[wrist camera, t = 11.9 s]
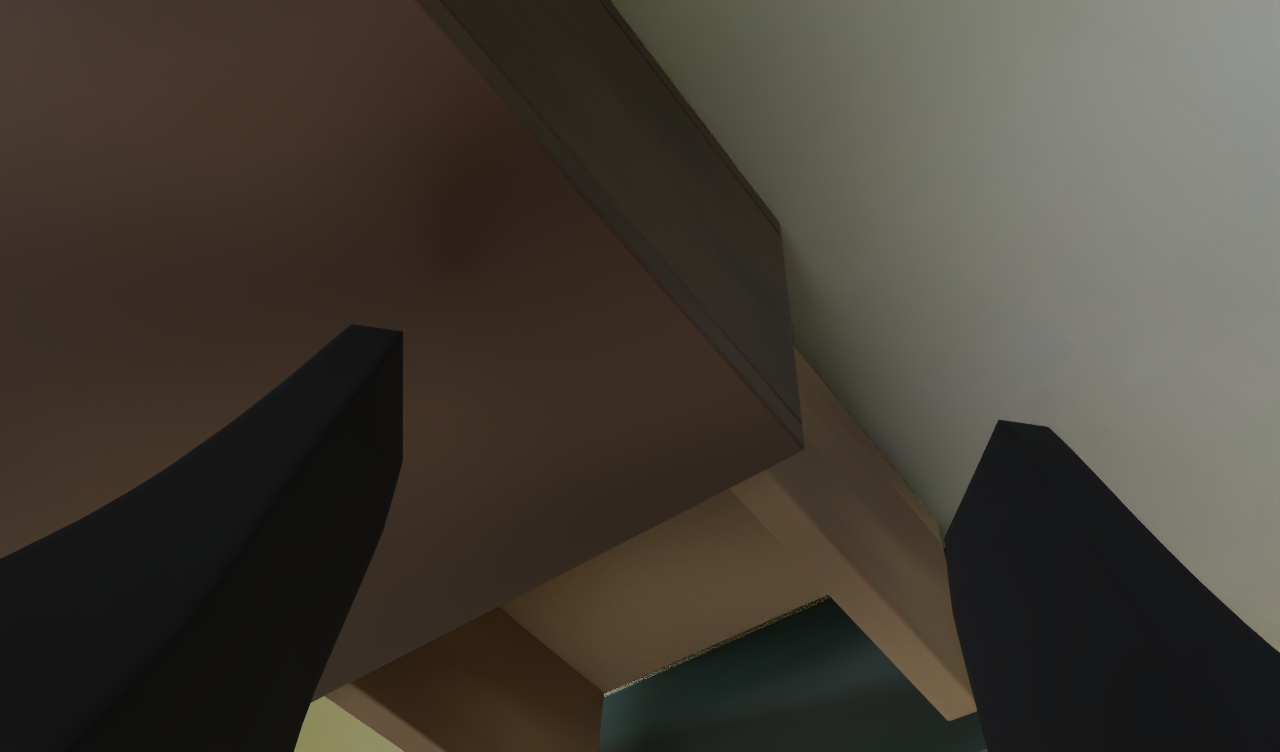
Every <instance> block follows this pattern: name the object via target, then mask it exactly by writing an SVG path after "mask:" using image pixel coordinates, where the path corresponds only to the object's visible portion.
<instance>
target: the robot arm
mask: <svg viewBox="0 0 1280 752" xmlns="http://www.w3.org/2000/svg"><path fill="white" fill-rule="evenodd" d="M402 463H403V331H396V330H390V329H383V328H376V327H369V326H363V325H356V324H351V325H350V326H348V327H347V328H345V329H344V330H343V331H341V332H340V333H339V334H338V335H337V336H335V337H334V338H333V339H332V340H331V341H329V342H328V343H327V344H326V345H325V346H324V347H322V348H321V349H320V350H319V351H318V352H317V353H315V354H314V355H313V356H312V357H311V358H309V359H308V360H307V361H306V362H305V363H304V364H302V365H301V366H300V367H299V368H298V369H296V370H295V371H294V372H293V373H292V374H290V375H289V376H288V377H287V378H286V379H284V380H283V381H282V382H281V383H280V384H278V385H277V386H276V387H275V388H273V389H272V390H271V391H270V392H268V393H267V394H266V395H265V396H263V397H262V398H261V399H260V400H258V401H257V402H256V403H254V404H253V405H252V406H251V407H249V408H248V409H247V410H246V411H244V412H243V413H242V414H240V415H239V416H238V417H237V418H235V419H234V420H233V421H231V422H230V423H229V424H227V425H226V426H225V427H223V428H222V429H221V430H219V431H218V432H216V433H215V434H214V435H212V436H211V437H209V438H208V439H207V440H205V441H204V442H202V443H201V444H199V445H198V446H197V447H195V448H194V449H192V450H191V451H190V452H188V453H187V454H185V455H184V456H182V457H181V458H180V459H178V460H177V461H175V462H174V463H173V464H171V465H170V466H168V467H167V468H165V469H164V470H162V471H160V472H159V473H157V474H156V475H154V476H153V477H151V478H150V479H148V480H146V481H145V482H143V483H142V484H140V485H139V486H137V487H135V488H134V489H132V490H130V491H129V492H127V493H125V494H123V495H122V496H120V497H118V498H117V499H115V500H113V501H111V502H110V503H108V504H106V505H104V506H103V507H101V508H99V509H98V510H96V511H94V512H92V513H90V514H89V515H87V516H85V517H83V518H81V519H79V520H78V521H76V522H74V523H72V524H70V525H68V526H65V527H63V528H61V529H59V530H57V531H55V532H53V533H51V534H49V535H47V536H45V537H43V538H41V539H39V540H37V541H35V542H33V543H31V544H29V545H27V546H25V547H23V548H21V549H19V550H17V551H15V552H13V553H11V554H9V555H7V556H5V557H3V558H1V559H0V752H294V749H295V746H296V743H297V740H298V737H299V733H300V730H301V727H302V724H303V721H304V719H305V716H306V713H307V711H308V708H309V706H310V703H311V700H312V698H313V695H314V692H315V690H316V687H317V685H318V683H319V680H320V678H321V676H322V673H323V671H324V669H325V667H326V664H327V662H328V660H329V657H330V655H331V653H332V650H333V648H334V646H335V643H336V641H337V639H338V636H339V634H340V632H341V629H342V627H343V625H344V622H345V620H346V618H347V616H348V613H349V611H350V609H351V606H352V604H353V602H354V599H355V597H356V595H357V592H358V590H359V588H360V585H361V583H362V581H363V578H364V576H365V574H366V571H367V569H368V567H369V564H370V562H371V559H372V557H373V555H374V552H375V550H376V548H377V545H378V543H379V540H380V538H381V536H382V533H383V530H384V526H385V523H386V520H387V516H388V513H389V509H390V506H391V503H392V499H393V496H394V492H395V488H396V485H397V481H398V477H399V474H400V470H401V467H402ZM945 549H946V560H947V571H948V581H949V589H950V597H951V605H952V613H953V617H954V621H955V626H956V630H957V634H958V638H959V642H960V646H961V650H962V654H963V658H964V662H965V666H966V670H967V674H968V678H969V682H970V685H971V689H972V693H973V697H974V701H975V705H976V708H977V712H978V716H979V720H980V724H981V728H982V731H983V735H984V739H985V743H986V747H987V751H988V752H1280V653H1279V652H1278V651H1277V650H1276V649H1274V648H1273V647H1272V646H1271V645H1270V644H1268V643H1267V642H1266V641H1265V640H1264V639H1263V638H1262V637H1260V636H1259V635H1258V634H1257V633H1256V632H1255V631H1253V630H1252V629H1251V628H1250V627H1249V626H1248V625H1247V624H1245V623H1244V622H1243V621H1242V620H1241V619H1240V618H1239V617H1238V616H1237V615H1236V614H1235V613H1234V612H1232V611H1231V610H1230V609H1229V608H1228V607H1227V606H1226V605H1225V604H1224V603H1223V602H1222V601H1221V600H1220V599H1218V598H1217V597H1216V596H1215V595H1214V594H1213V593H1212V592H1211V591H1210V590H1209V589H1208V588H1207V587H1206V586H1204V585H1203V584H1202V583H1201V582H1200V581H1199V580H1198V579H1197V578H1196V577H1195V576H1194V575H1193V574H1192V573H1191V572H1190V571H1189V570H1188V569H1187V568H1186V567H1185V566H1184V565H1183V564H1182V563H1181V562H1180V561H1179V560H1178V559H1177V558H1176V557H1175V556H1174V555H1173V554H1172V553H1171V552H1170V551H1169V550H1168V549H1167V548H1166V547H1165V546H1164V545H1163V544H1162V543H1161V542H1160V541H1159V540H1158V539H1157V538H1156V537H1155V536H1154V535H1153V534H1152V533H1151V532H1150V531H1149V530H1148V529H1147V528H1146V527H1145V526H1144V525H1143V524H1142V523H1141V522H1140V521H1139V520H1138V519H1137V518H1136V516H1135V515H1134V514H1133V513H1132V512H1131V511H1130V510H1129V509H1128V508H1127V507H1126V506H1125V505H1124V504H1123V503H1122V502H1121V501H1120V500H1119V499H1118V498H1117V497H1116V495H1115V494H1114V493H1113V492H1112V491H1111V490H1110V489H1109V488H1108V487H1107V486H1106V485H1105V484H1104V483H1103V482H1102V481H1101V480H1100V479H1099V478H1098V476H1097V475H1096V474H1095V473H1094V472H1093V471H1092V470H1091V469H1090V468H1089V467H1088V466H1087V465H1086V464H1085V463H1084V462H1083V461H1082V460H1081V459H1080V458H1079V457H1078V456H1077V454H1076V453H1075V452H1074V451H1073V450H1072V449H1071V448H1070V447H1069V446H1068V445H1067V444H1066V443H1065V442H1064V441H1063V440H1062V439H1061V438H1060V437H1058V436H1057V435H1056V434H1055V433H1054V432H1053V431H1052V430H1051V429H1050V428H1049V427H1045V426H1038V425H1032V424H1025V423H1018V422H1011V421H1005V420H998V422H997V424H996V427H995V429H994V431H993V433H992V435H991V438H990V440H989V442H988V444H987V446H986V449H985V451H984V453H983V455H982V457H981V460H980V462H979V464H978V466H977V468H976V471H975V473H974V475H973V477H972V479H971V482H970V484H969V486H968V488H967V490H966V493H965V495H964V497H963V499H962V501H961V503H960V506H959V508H958V510H957V512H956V514H955V517H954V519H953V521H952V523H951V525H950V528H949V530H948V532H947V534H946V536H945Z"/></svg>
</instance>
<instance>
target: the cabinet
mask: <svg viewBox="0 0 1280 752" xmlns="http://www.w3.org/2000/svg"><path fill="white" fill-rule="evenodd" d="M351 324H356V325H363V326H369V327H376V328H383V329H390V330H396V331H403V463H402V467H401V470H400V474H399V477H398V481H397V485H396V488H395V492H394V496H393V499H392V503H391V506H390V509H389V513H388V516H387V520H386V523H385V526H384V530H383V533H382V536H381V538H380V540H379V543H378V545H377V548H376V550H375V552H374V555H373V557H372V559H371V562H370V564H369V567H368V569H367V571H366V574H365V576H364V578H363V581H362V583H361V585H360V588H359V590H358V592H357V595H356V597H355V599H354V602H353V604H352V606H351V609H350V611H349V613H348V616H347V618H346V620H345V622H344V625H343V627H342V629H341V632H340V634H339V636H338V639H337V641H336V643H335V646H334V648H333V650H332V653H331V655H330V657H329V660H328V662H327V664H326V667H325V669H324V671H323V673H322V676H321V678H320V680H319V683H318V685H317V687H316V690H315V692H314V695H313V698H312V700H311V702H313V701H315V700H317V699H319V698H321V697H323V696H325V695H327V694H329V693H331V692H333V691H335V690H337V689H339V688H341V687H342V686H344V685H346V684H348V683H350V682H352V681H354V680H356V679H358V678H360V677H362V676H364V675H366V674H368V673H370V672H372V671H374V670H376V669H378V668H380V667H382V666H383V665H385V664H387V663H389V662H391V661H393V660H395V659H397V658H399V657H401V656H403V655H405V654H407V653H409V652H411V651H413V650H415V649H417V648H419V647H421V646H423V645H424V644H426V643H428V642H430V641H432V640H434V639H436V638H438V637H440V636H442V635H444V634H446V633H448V632H450V631H452V630H454V629H456V628H458V627H460V626H462V625H463V624H465V623H467V622H469V621H471V620H473V619H475V618H477V617H479V616H481V615H483V614H485V613H487V612H489V611H491V610H493V609H495V608H497V607H499V606H501V605H503V604H504V603H506V602H508V601H510V600H512V599H514V598H516V597H518V596H520V595H522V594H524V593H526V592H528V591H530V590H532V589H534V588H536V587H538V586H540V585H542V584H544V583H545V582H547V581H549V580H551V579H553V578H555V577H557V576H559V575H561V574H563V573H565V572H567V571H569V570H571V569H573V568H575V567H577V566H579V565H581V564H583V563H585V562H586V561H588V560H590V559H592V558H594V557H596V556H598V555H600V554H602V553H604V552H606V551H608V550H610V549H612V548H614V547H616V546H618V545H620V544H622V543H624V542H626V541H627V540H629V539H631V538H633V537H635V536H637V535H639V534H641V533H643V532H645V531H647V530H649V529H651V528H653V527H655V526H657V525H659V524H661V523H663V522H665V521H667V520H668V519H670V518H672V517H674V516H676V515H678V514H680V513H682V512H684V511H686V510H688V509H690V508H692V507H694V506H696V505H698V504H700V503H702V502H704V501H706V500H708V499H709V498H711V497H713V496H715V495H717V494H719V493H721V492H723V491H725V490H727V489H729V488H731V487H733V486H735V485H737V484H739V483H741V482H743V481H745V480H747V479H749V478H750V477H752V476H754V475H756V474H758V473H760V472H762V471H764V470H766V469H768V468H770V467H772V466H774V465H776V464H778V463H780V462H782V461H784V460H786V459H788V458H789V457H791V456H793V455H795V454H797V453H799V452H801V451H803V450H804V448H805V446H804V437H803V428H802V416H801V407H800V398H799V389H798V380H797V371H796V363H795V354H794V345H793V336H792V327H791V318H790V309H789V300H788V291H787V282H786V274H785V265H784V256H783V247H782V238H781V233H780V225H779V222H778V221H777V220H776V218H775V217H774V216H773V214H772V213H771V212H770V210H769V209H768V208H767V207H766V205H765V204H764V203H763V201H762V200H761V199H760V197H759V196H758V195H757V193H756V192H755V191H754V190H753V188H752V187H751V186H750V184H749V183H748V182H747V180H746V179H745V178H744V176H743V175H742V174H741V172H740V171H739V170H738V169H737V167H736V166H735V165H734V163H733V162H732V161H731V159H730V158H729V157H728V155H727V154H726V153H725V152H724V150H723V149H722V148H721V146H720V145H719V144H718V142H717V141H716V140H715V138H714V137H713V136H712V134H711V133H710V132H709V131H708V129H707V128H706V127H705V125H704V124H703V123H702V121H701V120H700V119H699V117H698V116H697V115H696V114H695V112H694V111H693V110H692V108H691V107H690V106H689V104H688V103H687V102H686V100H685V99H684V98H683V96H682V95H681V94H680V93H679V91H678V90H677V89H676V87H675V86H674V85H673V83H672V82H671V81H670V79H669V78H668V77H667V76H666V74H665V73H664V72H663V70H662V69H661V68H660V66H659V65H658V64H657V62H656V61H655V60H654V58H653V57H652V56H651V55H650V53H649V52H648V51H647V49H646V48H645V47H644V45H643V44H642V43H641V41H640V40H639V39H638V38H637V36H636V35H635V34H634V32H633V31H632V30H631V28H630V27H629V26H628V24H627V23H626V22H625V20H624V19H623V18H622V17H621V15H620V14H619V13H618V11H617V10H616V9H615V7H614V6H613V5H612V3H611V2H610V1H609V0H0V559H1V558H3V557H5V556H7V555H9V554H11V553H13V552H15V551H17V550H19V549H21V548H23V547H25V546H27V545H29V544H31V543H33V542H35V541H37V540H39V539H41V538H43V537H45V536H47V535H49V534H51V533H53V532H55V531H57V530H59V529H61V528H63V527H65V526H68V525H70V524H72V523H74V522H76V521H78V520H79V519H81V518H83V517H85V516H87V515H89V514H90V513H92V512H94V511H96V510H98V509H99V508H101V507H103V506H104V505H106V504H108V503H110V502H111V501H113V500H115V499H117V498H118V497H120V496H122V495H123V494H125V493H127V492H129V491H130V490H132V489H134V488H135V487H137V486H139V485H140V484H142V483H143V482H145V481H146V480H148V479H150V478H151V477H153V476H154V475H156V474H157V473H159V472H160V471H162V470H164V469H165V468H167V467H168V466H170V465H171V464H173V463H174V462H175V461H177V460H178V459H180V458H181V457H182V456H184V455H185V454H187V453H188V452H190V451H191V450H192V449H194V448H195V447H197V446H198V445H199V444H201V443H202V442H204V441H205V440H207V439H208V438H209V437H211V436H212V435H214V434H215V433H216V432H218V431H219V430H221V429H222V428H223V427H225V426H226V425H227V424H229V423H230V422H231V421H233V420H234V419H235V418H237V417H238V416H239V415H240V414H242V413H243V412H244V411H246V410H247V409H248V408H249V407H251V406H252V405H253V404H254V403H256V402H257V401H258V400H260V399H261V398H262V397H263V396H265V395H266V394H267V393H268V392H270V391H271V390H272V389H273V388H275V387H276V386H277V385H278V384H280V383H281V382H282V381H283V380H284V379H286V378H287V377H288V376H289V375H290V374H292V373H293V372H294V371H295V370H296V369H298V368H299V367H300V366H301V365H302V364H304V363H305V362H306V361H307V360H308V359H309V358H311V357H312V356H313V355H314V354H315V353H317V352H318V351H319V350H320V349H321V348H322V347H324V346H325V345H326V344H327V343H328V342H329V341H331V340H332V339H333V338H334V337H335V336H337V335H338V334H339V333H340V332H341V331H343V330H344V329H345V328H347V327H348V326H350V325H351Z"/></svg>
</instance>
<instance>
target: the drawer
mask: <svg viewBox="0 0 1280 752" xmlns="http://www.w3.org/2000/svg"><path fill="white" fill-rule="evenodd" d="M794 354H795V363H796V371H797V380H798V389H799V398H800V407H801V416H802V428H803V437H804V446H805V448H804V450H803V451H801V452H799V453H797V454H795V455H793V456H791V457H789V458H788V459H786V460H784V461H782V462H780V463H778V464H776V465H774V466H772V467H770V468H768V469H766V470H764V471H762V472H760V473H758V474H756V475H754V476H752V477H750V478H749V479H747V480H745V481H743V482H741V483H739V484H737V485H735V486H733V487H731V488H729V489H727V490H725V491H723V492H721V493H719V494H717V495H715V496H713V497H711V498H709V499H708V500H706V501H704V502H702V503H700V504H698V505H696V506H694V507H692V508H690V509H688V510H686V511H684V512H682V513H680V514H678V515H676V516H674V517H672V518H670V519H668V520H667V521H665V522H663V523H661V524H659V525H657V526H655V527H653V528H651V529H649V530H647V531H645V532H643V533H641V534H639V535H637V536H635V537H633V538H631V539H629V540H627V541H626V542H624V543H622V544H620V545H618V546H616V547H614V548H612V549H610V550H608V551H606V552H604V553H602V554H600V555H598V556H596V557H594V558H592V559H590V560H588V561H586V562H585V563H583V564H581V565H579V566H577V567H575V568H573V569H571V570H569V571H567V572H565V573H563V574H561V575H559V576H557V577H555V578H553V579H551V580H549V581H547V582H545V583H544V584H542V585H540V586H538V587H536V588H534V589H532V590H530V591H528V592H526V593H524V594H522V595H520V596H518V597H516V598H514V599H512V600H510V601H508V602H506V603H504V604H503V605H501V606H499V607H497V608H495V609H493V610H491V611H489V612H487V613H485V614H483V615H481V616H479V617H477V618H475V619H473V620H471V621H469V622H467V623H465V624H463V625H462V626H460V627H458V628H456V629H454V630H452V631H450V632H448V633H446V634H444V635H442V636H440V637H438V638H436V639H434V640H432V641H430V642H428V643H426V644H424V645H423V646H421V647H419V648H417V649H415V650H413V651H411V652H409V653H407V654H405V655H403V656H401V657H399V658H397V659H395V660H393V661H391V662H389V663H387V664H385V665H383V666H382V667H380V668H378V669H376V670H374V671H372V672H370V673H368V674H366V675H364V676H362V677H360V678H358V679H356V680H354V681H352V682H350V683H348V684H346V685H344V686H342V687H341V688H339V689H337V690H335V691H333V692H331V693H329V694H327V695H325V697H327V698H328V699H330V700H331V701H332V702H334V703H335V704H337V705H338V706H340V707H341V708H343V709H344V710H345V711H347V712H348V713H350V714H351V715H353V716H354V717H356V718H357V719H358V720H360V721H361V722H363V723H364V724H366V725H367V726H369V727H370V728H371V729H373V730H374V731H376V732H377V733H379V734H380V735H382V736H383V737H384V738H386V739H387V740H389V741H390V742H392V743H393V744H395V745H396V746H398V747H399V748H400V749H402V750H403V751H405V752H988V751H987V747H986V743H985V739H984V735H983V731H982V728H981V724H980V720H979V716H978V712H977V708H976V705H975V701H974V697H973V693H972V689H971V685H970V682H969V678H968V674H967V670H966V666H965V662H964V658H963V654H962V650H961V646H960V642H959V638H958V634H957V630H956V626H955V621H954V617H953V613H952V605H951V597H950V589H949V581H948V571H947V560H946V549H945V548H944V549H943V545H942V540H941V536H940V532H939V528H938V524H937V521H936V520H935V518H934V517H933V516H932V515H931V513H930V512H929V511H928V510H927V509H926V507H925V506H924V505H923V504H922V502H921V501H920V500H919V499H918V498H917V496H916V495H915V494H914V493H913V491H912V490H911V489H910V488H909V486H908V485H907V484H906V483H905V482H904V480H903V479H902V478H901V477H900V475H899V474H898V473H897V472H896V470H895V469H894V468H893V467H892V466H891V464H890V463H889V462H888V461H887V459H886V458H885V457H884V456H883V455H882V453H881V452H880V451H879V450H878V448H877V447H876V446H875V445H874V443H873V442H872V441H871V440H870V439H869V437H868V436H867V435H866V434H865V432H864V431H863V430H862V429H861V427H860V426H859V425H858V424H857V423H856V421H855V420H854V419H853V418H852V416H851V415H850V414H849V413H848V412H847V410H846V409H845V408H844V407H843V405H842V404H841V403H840V402H839V400H838V399H837V398H836V397H835V396H834V394H833V393H832V392H831V391H830V389H829V388H828V387H827V386H826V385H825V383H824V382H823V381H822V380H821V378H820V377H819V376H818V375H817V373H816V372H815V371H814V370H813V369H812V367H811V366H810V365H809V364H808V362H807V361H806V360H805V359H804V357H803V356H802V355H801V354H800V353H799V351H798V350H797V349H796V348H795V346H794ZM827 595H829V596H830V597H831V598H830V599H828V600H825V601H823V602H821V603H819V604H816V605H814V606H812V607H810V608H807V609H805V610H803V611H800V612H798V613H796V614H794V615H791V616H789V617H787V618H784V619H782V620H780V621H778V622H775V623H773V624H771V625H768V626H766V627H764V628H762V629H759V630H757V631H755V632H752V633H750V634H748V635H746V636H743V637H741V638H739V639H737V640H734V641H732V642H730V643H727V644H725V645H723V646H721V647H718V648H716V649H714V650H711V651H709V652H707V653H705V654H702V655H700V656H698V657H695V658H693V659H691V660H689V661H686V662H684V663H682V664H680V665H677V666H675V667H673V668H670V669H668V670H666V671H664V672H661V673H659V674H657V675H654V676H652V677H650V678H648V679H645V680H643V681H641V682H638V683H636V684H634V685H632V686H629V687H627V688H625V689H622V690H620V691H618V692H616V693H613V694H611V695H609V696H607V697H604V693H606V692H609V691H611V690H613V689H615V688H618V687H620V686H622V685H624V684H627V683H629V682H631V681H634V680H636V679H638V678H640V677H643V676H645V675H647V674H649V673H652V672H654V671H656V670H659V669H661V668H663V667H665V666H668V665H670V664H672V663H674V662H677V661H679V660H681V659H684V658H686V657H688V656H690V655H693V654H695V653H697V652H699V651H702V650H704V649H706V648H708V647H711V646H713V645H715V644H718V643H720V642H722V641H724V640H727V639H729V638H731V637H733V636H736V635H738V634H740V633H743V632H745V631H747V630H749V629H752V628H754V627H756V626H758V625H761V624H763V623H765V622H768V621H770V620H772V619H774V618H777V617H779V616H781V615H783V614H786V613H788V612H790V611H792V610H795V609H797V608H799V607H802V606H804V605H806V604H808V603H811V602H813V601H815V600H817V599H820V598H822V597H824V596H827Z"/></svg>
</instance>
